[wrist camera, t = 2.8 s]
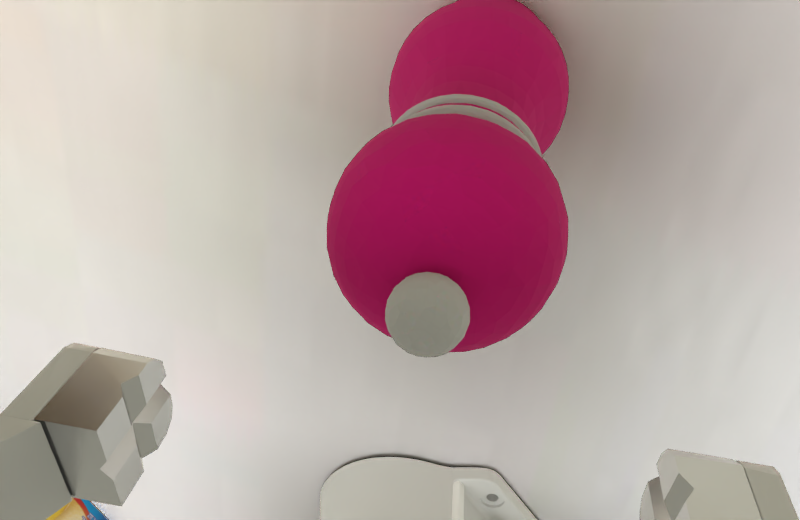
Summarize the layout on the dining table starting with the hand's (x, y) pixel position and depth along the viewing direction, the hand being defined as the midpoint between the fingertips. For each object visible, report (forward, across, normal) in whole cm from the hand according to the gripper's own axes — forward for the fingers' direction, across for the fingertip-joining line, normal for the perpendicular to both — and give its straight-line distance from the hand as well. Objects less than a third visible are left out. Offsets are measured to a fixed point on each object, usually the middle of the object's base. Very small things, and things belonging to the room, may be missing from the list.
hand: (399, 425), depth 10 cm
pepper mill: (+22, 0, 0) cm, 23 cm away
